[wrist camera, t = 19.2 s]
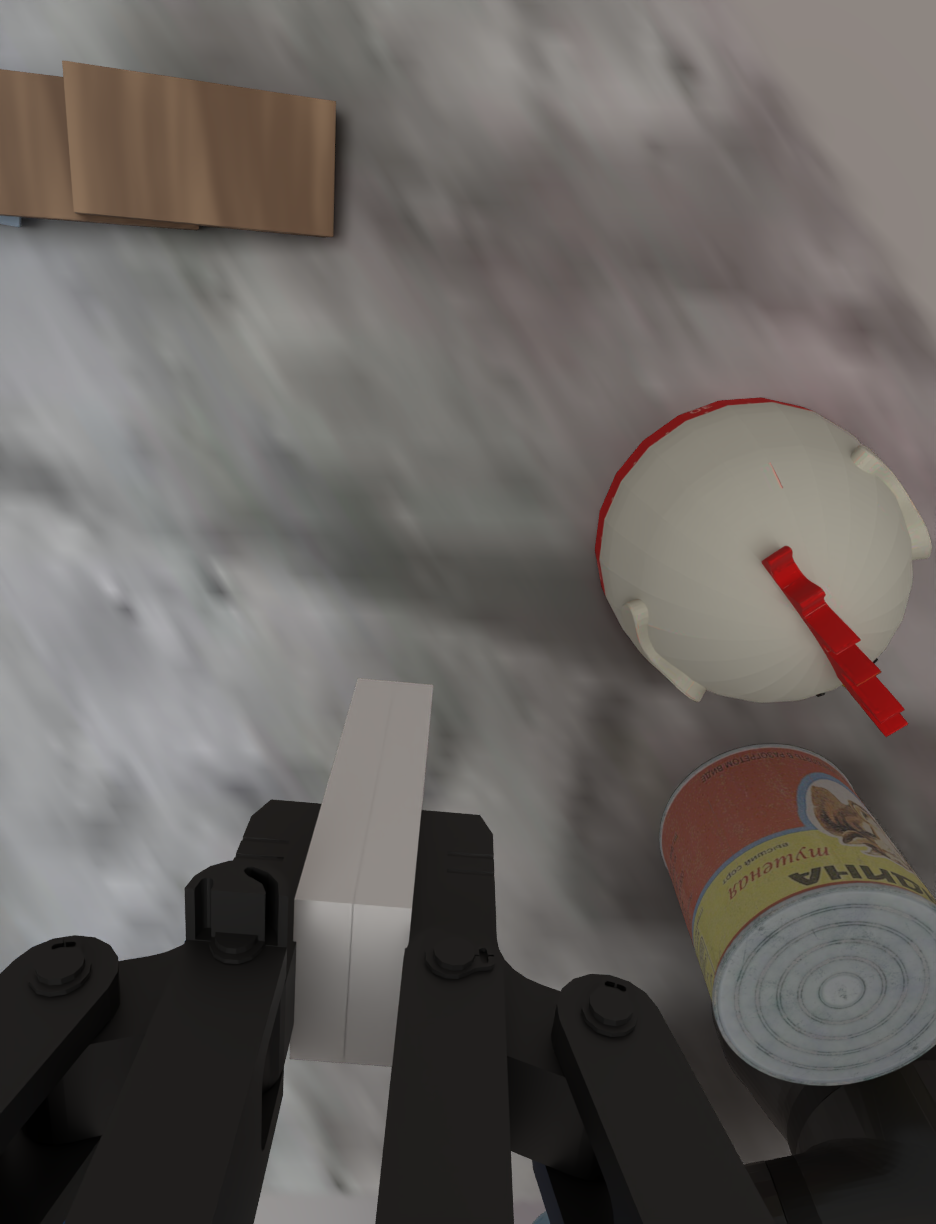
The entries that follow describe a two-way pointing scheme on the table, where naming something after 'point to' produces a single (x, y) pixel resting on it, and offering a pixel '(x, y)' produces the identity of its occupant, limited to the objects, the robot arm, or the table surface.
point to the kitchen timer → (761, 556)
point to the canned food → (801, 917)
